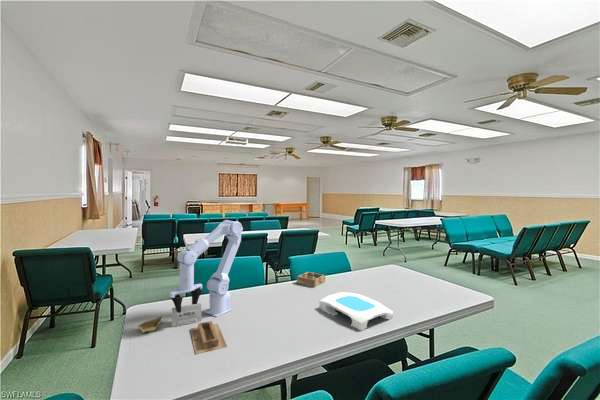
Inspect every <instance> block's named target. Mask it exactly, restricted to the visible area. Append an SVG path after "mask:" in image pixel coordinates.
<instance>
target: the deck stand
mask: <svg viewBox="0 0 600 400" xmlns="http://www.w3.org/2000/svg"><path fill="white" fill-rule="evenodd" d="M312 272H313V271H312ZM312 272H310V271H306V272H304V273H302V274H299V275H297V276H296V284H297V285H300V286H306V287H310V288H316V287H318V286H320V285H321V284H324V283H326V275H325V274H322V273H321V274H320V273H316V272H313V273H312ZM311 273H312V274H314V275H311ZM309 277H310V278H311V279H310V278H309ZM312 277H315V278H316V279H315V278H312Z"/></svg>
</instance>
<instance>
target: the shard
mask: <svg viewBox="0 0 600 400" xmlns="http://www.w3.org/2000/svg"><path fill="white" fill-rule="evenodd" d="M163 317H164V315H161V316H159V317H157V318H156V317H155V318H152V319H150V320H148V321H144V322H142V323H139V324H137V326H136V328H137V330H139V331H141V332H142V333H143V334H145V333H146V332H153V331H155V330H156V329H157V328H158V326H160V324H161V322H162V320H163Z"/></svg>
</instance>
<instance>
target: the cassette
mask: <svg viewBox="0 0 600 400" xmlns="http://www.w3.org/2000/svg"><path fill="white" fill-rule="evenodd" d="M187 313H189V314H187ZM201 321H202V303H198V302H197V304H193V305H192V304H189V305H188V304H187V305H181V313H178V312H177V311H176V307H175V306H174V307H172V308H171V327H172V328H173V327H178V326H179V327H180V326H185V325H189V324H195V323H198V322H201Z"/></svg>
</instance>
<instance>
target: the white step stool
mask: <svg viewBox="0 0 600 400" xmlns="http://www.w3.org/2000/svg"><path fill="white" fill-rule="evenodd" d="M319 308H320V310H321V311H323V312H324V311H325V312H324V313H326V312H327V313H326V314H328V315H330V314H331V315H330V316H333V317H335V316H334V315H336V314H337V315H339V313H338V312H337V311H339V312H341V313H342V314H344V315H345V316H348V317H349V318H350V319H351V325H350V326H351V327H352V326H353V328H354V327H355V328H354V329H356V328H357V329H356V330H358V329H359V330H358V331H361V330H362V331H364V330H363V329H365V328H368V322H369V321H370V320H373V319H374V318H377V317H379V316H380V317H379V318H381V317H382V318H381V319H384V320H386V319H390V320H392V318H394V311H393V310H391V309H390V308H388V307H387V306H386V305H383V303H381V302H379V301H377V300H374V299H372V298H370V297H367V296H365V295H363V294H358V293H354V292H344V291H343V292H341V291H340V292H337V293H333V294H329V295H327V296H325V297H324V298H321V299H320V300H319ZM336 310H337V311H336ZM337 315H336V316H337ZM365 330H366V329H365Z"/></svg>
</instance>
